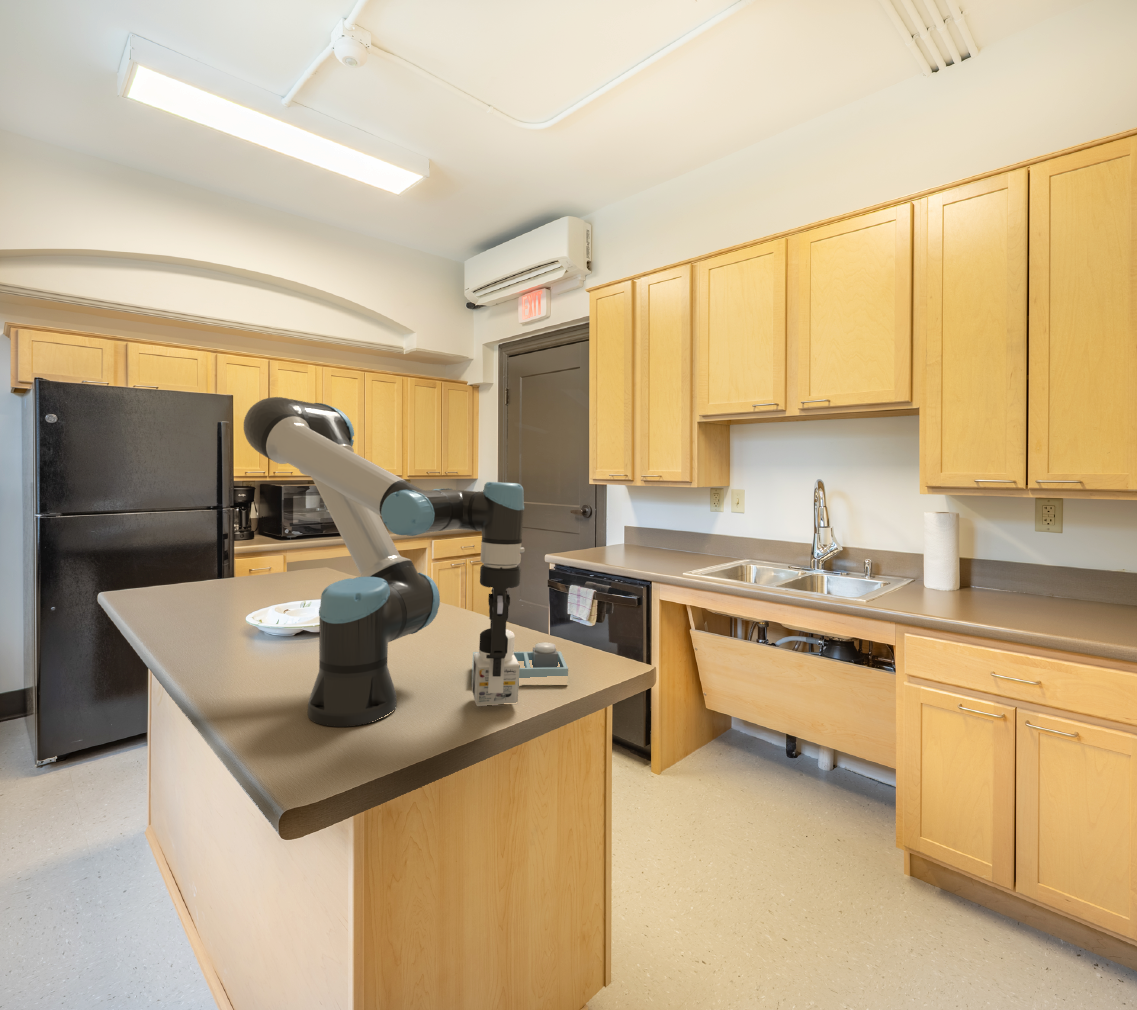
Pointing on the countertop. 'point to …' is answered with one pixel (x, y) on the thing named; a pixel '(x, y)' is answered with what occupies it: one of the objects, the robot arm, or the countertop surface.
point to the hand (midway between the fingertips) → (495, 683)
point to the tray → (540, 662)
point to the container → (482, 672)
